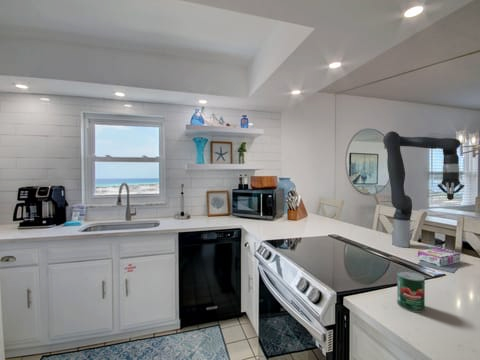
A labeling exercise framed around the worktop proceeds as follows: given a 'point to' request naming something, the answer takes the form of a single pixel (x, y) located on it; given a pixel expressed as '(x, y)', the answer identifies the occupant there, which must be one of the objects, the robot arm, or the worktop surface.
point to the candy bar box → (439, 256)
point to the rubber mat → (446, 268)
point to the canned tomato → (411, 291)
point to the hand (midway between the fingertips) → (450, 199)
